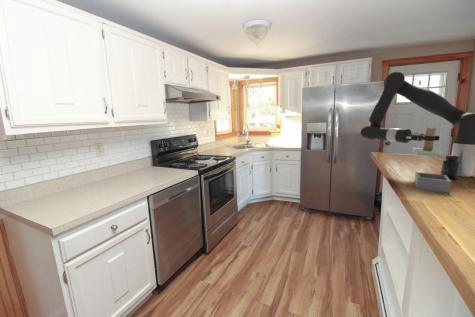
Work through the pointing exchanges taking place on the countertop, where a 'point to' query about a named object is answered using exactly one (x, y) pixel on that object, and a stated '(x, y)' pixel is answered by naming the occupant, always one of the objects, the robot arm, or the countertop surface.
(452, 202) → the countertop surface
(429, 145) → the peg on green base
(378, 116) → the robot arm
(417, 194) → the countertop surface
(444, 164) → the supplement bottle
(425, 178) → the storage box
